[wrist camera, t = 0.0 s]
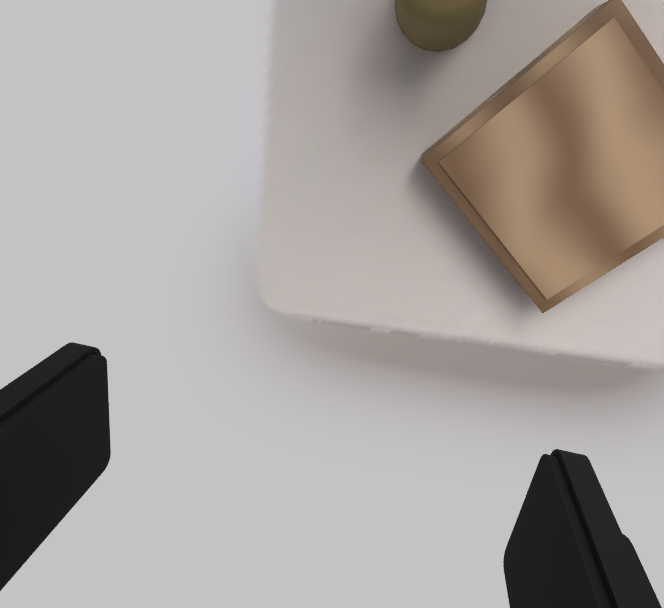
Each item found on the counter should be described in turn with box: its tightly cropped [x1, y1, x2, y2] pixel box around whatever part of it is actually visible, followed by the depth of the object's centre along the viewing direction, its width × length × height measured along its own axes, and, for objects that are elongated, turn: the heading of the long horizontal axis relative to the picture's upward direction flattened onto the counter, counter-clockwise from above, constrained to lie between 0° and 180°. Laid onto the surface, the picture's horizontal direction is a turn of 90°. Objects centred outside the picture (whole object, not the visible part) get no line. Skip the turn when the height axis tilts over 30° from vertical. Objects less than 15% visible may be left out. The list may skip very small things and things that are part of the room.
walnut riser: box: [421, 0, 664, 313], centre depth 35 cm, size 14×14×4 cm
